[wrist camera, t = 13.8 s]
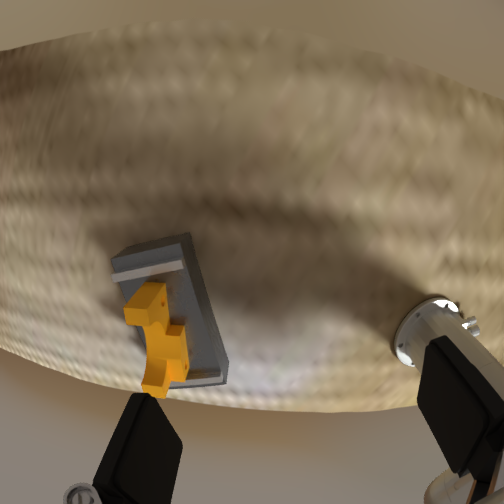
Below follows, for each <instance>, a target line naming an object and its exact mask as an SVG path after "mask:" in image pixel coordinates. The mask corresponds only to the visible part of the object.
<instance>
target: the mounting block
mask: <svg viewBox="0 0 504 504" xmlns="http://www.w3.org/2000/svg"><path fill="white" fill-rule="evenodd" d="M111 262H112V264H113V267H114V270H115V271H114V272H113V273H112V274H111V277H112V280H113V283H115V282H119V284H120V287H121V290H122V292H123V295H124V298H125V300H126V303H127V302H128V301H129V300H130V299H131V298H132V296H133V295H134V294H135V293H136V292H137V290H138V289H139V288H140V287H141V286H142V285H143V283H144V282H155V283H165V284H166V293H167V302H168V310H169V318H170V325H183V326H184V327H185V336H186V344H187V352H188V359H189V370H188V373H187V377H186V380H185V382H174V381H171V383H170V386H169V389H181V388H194V387H205V386H215V385H224V384H226V382H227V375H228V367H229V360H228V357H227V354H226V351H225V348H224V345H223V342H222V339H221V336H220V333H219V330H218V327H217V324H216V320H215V317H214V314H213V311H212V308H211V304H210V301H209V298H208V294H207V291H206V288H205V284H204V281H203V278H202V274H201V271H200V267H199V264H198V260H197V257H196V253H195V250H194V246H193V242H192V239H191V235H190V232H189V233H184V234H180V235H176V236H171V237H167V238H163V239H159V240H154V241H150V242H146V243H142V244H138V245H134V246H130V247H127V248H125V249H124V250H123V251H121V252H120V253H119V254H117V255H116V256H114V257H113V258H112V259H111ZM136 327H137V329H138V332H139V334H140V336H141V339H142V341H143V343H144V345H145V348H146V350H147V346H146V338H145V333H144V330H143V327H142V326H136Z"/></svg>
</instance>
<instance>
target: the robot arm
mask: <svg viewBox="0 0 504 504" xmlns="http://www.w3.org/2000/svg"><path fill="white" fill-rule="evenodd" d="M475 323H476V318H475V316H472V317H469V318H467V319H465V320H464V319H462V318H461V317H460V313H459V310H458V308H457V306H456V305H455V304H454V303H453V302H451V301H450V300H448V299H446V298H441V297H438V298H432V299H429V300H426V301H424V302H422V303H421V304H419V305H418V306H416V307H415V308H414V309H413V310H412V311H411V312H410V313H409V314H408V315H407V316H406V317H405V318H404V320H403V321H402V323H401V324H400V326H399V328H398V330H397V332H396V336H395V340H394V349H395V353H396V355H397V357H398V359H399V360H400V361H401V362H402V363H403V364H405V365H407V366H411V367H416V368H417V370H418V371H419V373H420V374H421V380H420V385H419V391H418V396H417V403H418V407H419V409H420V410H421V412H422V414H423V416H424V418H425V420H426V421H427V423H428V425H429V427H430V429H431V431H432V433H433V435H434V437H435V439H436V440H437V443H438V444H439V446H440V448H441V450H442V452H443V454H444V456H445V458H446V460H447V462H448V464H449V468H448V469H447V470H445V471H444V472H443V473H441V474H440V475H439V476H438V477H436V478H435V479H434V480H433V481H432V482H431V484H430V485H429V486H428V487H427V489H426V491H425V494H424V504H504V367H503V366H502V365H501V364H500V363H499V362H498V361H497V359H496V358H495V357H494V356H493V355H492V354H491V353H490V352H489V351H488V350H487V349H486V348H485V347H484V346H483V345H482V344H481V343H480V342H479V341H478V340H477V339H476V338H475V337H476V336H478V335H479V333H480V329H479V327H478V326H477V325H474V326H472V327H470V328H468V329H467V326H471V325H473V324H475ZM182 449H183V445H182V441H181V439H180V438H179V436H178V435H177V433H176V432H175V430H174V428H173V427H172V425H171V424H170V422H169V420H168V419H167V417H166V415H165V414H164V412H163V410H162V409H161V407H160V406H159V403H158V402H157V400H156V399H155V397H152V396H151V395H150V394H149V393H133V394H132V395H131V397H130V399H129V401H128V403H127V405H126V407H125V409H124V411H123V414H122V416H121V418H120V420H119V422H118V424H117V427H116V429H115V431H114V433H113V435H112V438H111V440H110V442H109V444H108V447H107V449H106V451H105V453H104V456H103V458H102V461H101V463H100V465H99V467H98V470H97V472H96V475H95V477H94V479H93V484H92V485H90V484H87V483H77V484H74V485H73V486H71V487H70V488H69V489H68V490H67V491H66V492H65V494H64V499H63V503H64V504H171V499H172V494H173V490H174V485H175V480H176V476H177V471H178V467H179V463H180V458H181V454H182Z"/></svg>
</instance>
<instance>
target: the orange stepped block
mask: <svg viewBox="0 0 504 504" xmlns="http://www.w3.org/2000/svg"><path fill="white" fill-rule="evenodd" d="M123 309H124V314H125V319H126V324H127V325H136V326H142V327H143V330H144V333H145V338H146V346H147V360H146V369H145V374H144V378H143V381H142V383H141V386H142V389H143V393H149V394H150V395H151V396H152V397H156V398H164V399H165V397H166V394H167V391H168V389H169V386H170V383H171V381H174V382H185V380H186V377H187V373H188V370H189V359H188V352H187V344H186V336H185V327H184V326H183V325H170V318H169V310H168V302H167V293H166V284H165V283H155V282H144V283H143V285H142V286H141V287H140V288H139V289H138V290H137V292H136V293H135V294H134V295H133V296H132V298H131V299H130V300H129V301H128V302H127V304H126V305H125V306H124V307H123Z"/></svg>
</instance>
